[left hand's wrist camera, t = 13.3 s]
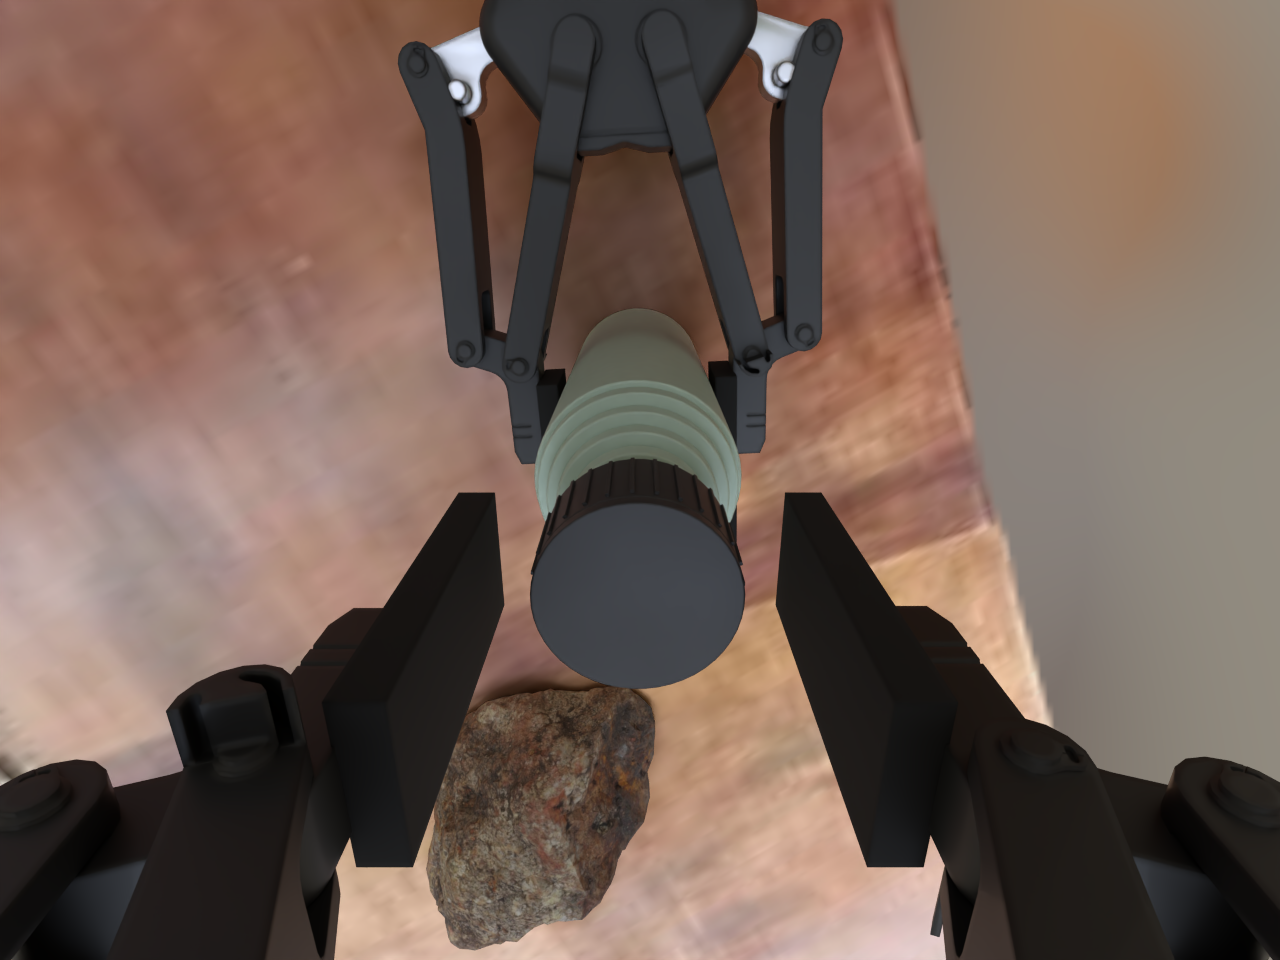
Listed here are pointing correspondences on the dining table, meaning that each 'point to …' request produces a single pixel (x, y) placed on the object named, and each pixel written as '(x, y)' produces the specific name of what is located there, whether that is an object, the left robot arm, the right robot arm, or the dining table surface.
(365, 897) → the dining table surface
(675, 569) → the cap
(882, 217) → the dining table surface
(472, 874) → the rock
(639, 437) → the bottle
